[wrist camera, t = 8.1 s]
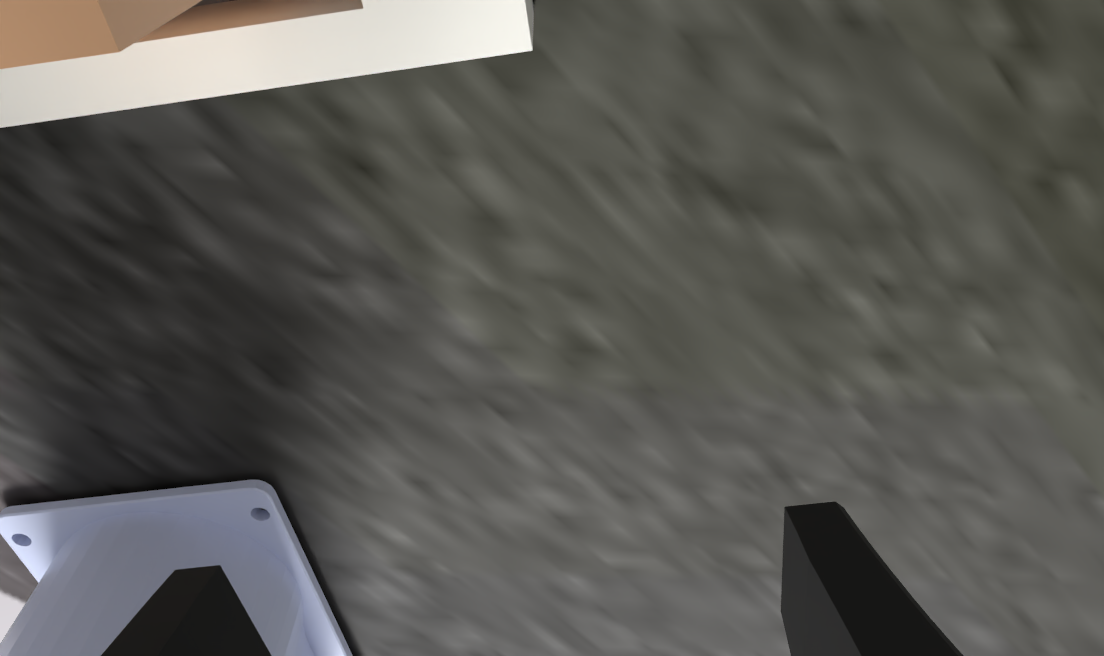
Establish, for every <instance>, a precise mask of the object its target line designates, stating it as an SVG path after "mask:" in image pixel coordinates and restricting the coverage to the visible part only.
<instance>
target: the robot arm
mask: <svg viewBox="0 0 1104 656" xmlns="http://www.w3.org/2000/svg"><path fill="white" fill-rule="evenodd" d="M259 508H263V509H265V510H262V509H259ZM0 534H1V535H2V536H3V537H4V539H5V540H6V541H7V543H8V544H9V545H10V546H11V548H12V549H13V550H14V552H15V553H16V554H17V556H18V557H19V558H20V559H21V561H22V562H23V563H24V565H25V566H26V567H27V568H28V570H29V571H30V572H31V574H32V575H33V576H34V577H35V579H36V580H37V581H38V585H37V586H36V588H35V590H34V591H33V593H32V594H31V596H30V598H29V599H28V601H27V602H26V604H25V605H24V607H23V609H22V610H21V612H20V613H19V615H18V617H17V618H16V620H15V621H14V623H13V624H12V626H11V628H10V629H9V631H8V633H7V634H6V635H5V637H4V639H3V640H2V642H1V643H0V656H353V655H352V653H351V651H350V649H349V647H348V645H347V643H346V640H345V638H344V636H343V634H342V632H341V630H340V628H339V626H338V623H337V621H336V619H335V617H334V615H333V613H332V611H331V609H330V606H329V604H328V602H327V600H326V598H325V596H324V594H323V591H322V589H321V587H320V585H319V583H318V581H317V579H316V577H315V574H314V572H313V570H312V568H311V566H310V564H309V562H308V560H307V557H306V555H305V553H304V551H303V549H302V547H301V545H300V543H299V540H298V538H297V536H296V534H295V532H294V530H293V528H292V526H291V523H290V521H289V519H288V517H287V515H286V513H285V511H284V509H283V506H282V504H281V502H280V500H279V498H278V496H277V494H276V492H275V490H274V489H273V487H272V486H271V485H269V484H268V483H266V482H264V481H261V480H244V481H235V482H226V483H216V484H207V485H198V486H189V487H180V488H171V489H162V490H153V491H144V492H135V493H126V494H117V495H108V496H99V497H90V498H81V499H72V500H63V501H54V502H44V503H35V504H26V505H17V506H9V507H6V508H4V509H3V510H2V511H1V512H0ZM781 613H782V618H783V622H784V626H785V631H786V635H787V639H788V644H789V648H790V653H791V656H963V655H962V654H961V653H960V652H959V650H958V649H957V648H956V647H955V646H954V645H953V644H952V642H951V641H950V640H949V639H948V638H947V637H946V636H945V635H944V633H943V632H942V631H941V630H940V629H939V628H938V627H937V625H936V624H935V623H934V622H933V621H932V620H931V619H930V617H929V616H928V615H927V614H926V613H925V611H924V610H923V609H922V608H921V607H920V605H919V604H918V603H917V602H916V601H915V600H914V598H913V597H912V596H911V595H910V593H909V592H908V591H907V590H906V588H905V587H904V586H903V585H902V584H901V582H900V581H899V580H898V579H897V577H896V576H895V575H894V574H893V572H892V571H891V570H890V569H889V567H888V566H887V565H886V564H885V562H884V561H883V560H882V559H881V557H880V556H879V555H878V553H877V552H876V551H875V550H874V548H873V547H872V546H871V544H870V543H869V542H868V540H867V539H866V538H865V536H864V535H863V534H862V532H861V531H860V530H859V528H858V527H857V526H856V524H855V523H854V521H853V520H852V519H851V517H850V516H849V514H848V513H847V512H846V510H845V509H844V508H843V507H842V506H841V505H839V504H838V503H836V502H827V503H817V504H807V505H798V506H788V507H785V513H784V540H783V567H782V595H781Z"/></svg>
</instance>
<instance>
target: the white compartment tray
mask: <svg viewBox="0 0 1104 656" xmlns="http://www.w3.org/2000/svg"><path fill="white" fill-rule="evenodd" d="M533 22H534V4H533V0H202V1H200V2H199V3H197V4H196V5H194V6H192V7H191V8H189V9H188V10H186V11H184V12H183V13H181V14H180V15H178V16H176V17H175V18H173V19H172V20H170V21H168V22H167V23H165V24H164V25H162V26H160V27H159V28H157V29H156V30H154V31H152V32H151V33H149V34H148V35H146V36H144V37H143V38H141V39H140V40H138V41H137V42H135V43H133V44H132V45H130V46H129V47H127V48H125V49H124V50H122V51H121V52H117V53H110V54H103V55H96V56H89V57H82V58H75V59H68V60H61V61H54V62H47V63H40V64H33V65H26V66H19V67H12V68H5V69H0V128H3V127H9V126H16V125H23V124H30V123H37V122H44V121H51V120H58V119H65V118H71V117H78V116H85V115H92V114H99V113H106V112H113V111H120V110H126V109H133V108H140V107H147V106H154V105H161V104H168V103H175V102H182V101H188V100H195V99H202V98H209V97H216V96H223V95H230V94H237V93H244V92H250V91H257V90H264V89H271V88H278V87H285V86H292V85H299V84H305V83H312V82H319V81H326V80H333V79H340V78H347V77H354V76H361V75H367V74H374V73H381V72H388V71H395V70H402V69H409V68H416V67H423V66H429V65H436V64H443V63H450V62H457V61H464V60H471V59H478V58H484V57H491V56H498V55H505V54H512V53H519V52H526V51H532V49H533Z"/></svg>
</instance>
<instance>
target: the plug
mask: <svg viewBox="0 0 1104 656" xmlns="http://www.w3.org/2000/svg"><path fill="white" fill-rule="evenodd" d="M200 1H202V0H0V69H5V68H12V67H19V66H26V65H33V64H40V63H47V62H54V61H61V60H68V59H75V58H82V57H89V56H96V55H103V54H110V53H117V52H121V51H122V50H124V49H125V48H127V47H129V46H130V45H132V44H133V43H135V42H137V41H138V40H140V39H141V38H143V37H144V36H146V35H148V34H149V33H151V32H152V31H154V30H156V29H157V28H159V27H160V26H162V25H164V24H165V23H167V22H168V21H170V20H172V19H173V18H175V17H176V16H178V15H180V14H181V13H183V12H184V11H186V10H188V9H189V8H191V7H192V6H194V5H196V4H197V3H199V2H200Z"/></svg>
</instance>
